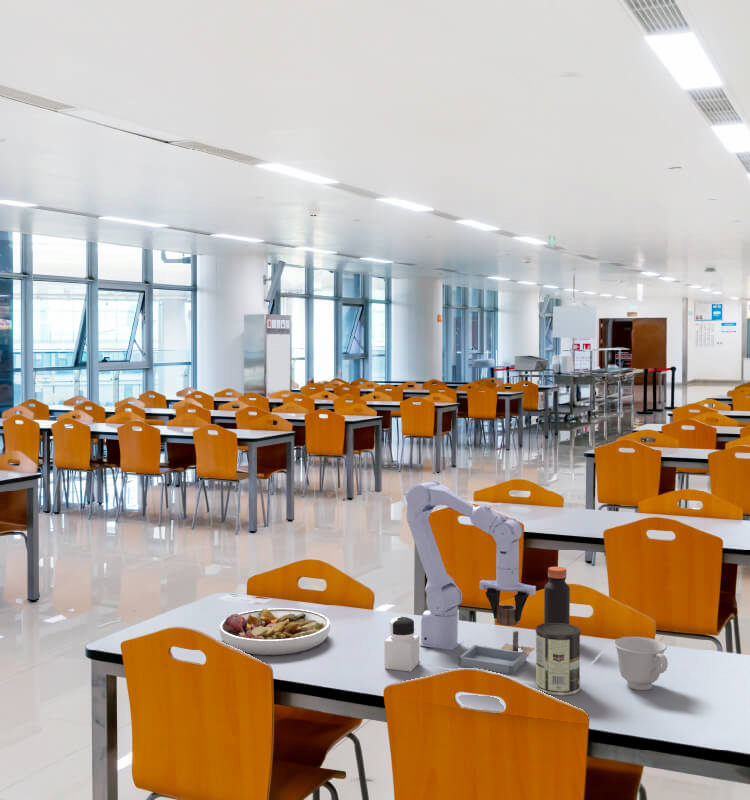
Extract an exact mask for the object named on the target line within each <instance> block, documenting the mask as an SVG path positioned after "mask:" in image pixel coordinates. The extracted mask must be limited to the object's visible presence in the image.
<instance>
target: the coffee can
mask: <svg viewBox="0 0 750 800" xmlns="http://www.w3.org/2000/svg"><path fill="white" fill-rule="evenodd" d="M535 636H536V637H535V643H536V644H535V646H536V647H535V648H536V649H535V653H536V654H535V656H536V657H535V665H536V666H535V667H536V668H535V672H536V673H535V687H536V689H537V690H538V689H539V690H541V691H543V692H546V693H548V694H547V695H550V694H551V695H552V696H571V695H574V694H578V693H579V691H580V690H581V687H580V683H581V682H580V681H581V680H580V669H581V668H580V666H581V665H580V663H581V662H580V657H581V655H580V654H581V653H580V647H581V644H580V643H581V642H580V641H581V640H580V637H581V629H580V628H579V627H578V626H576V625H573V624H571V623H570V624H566V623H544V622H543V623H540V624H538V625H536V626H535ZM539 690H538V691H539ZM541 691H540V692H541ZM543 692H542V693H543ZM546 693H545V694H546Z"/></svg>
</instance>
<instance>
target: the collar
mask: <svg viewBox="0 0 750 800" xmlns="http://www.w3.org/2000/svg"><path fill="white" fill-rule="evenodd" d="M515 614H516V606H515V605H514V604H499V606H497V619H496V623H497V624H498V625H501V626H508V627H511V626H517V624H518V623H519V622H517V621H516V620H515Z"/></svg>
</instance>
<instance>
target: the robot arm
mask: <svg viewBox="0 0 750 800" xmlns="http://www.w3.org/2000/svg"><path fill="white" fill-rule="evenodd" d="M405 500H406V503H407V504H406V520H407V524H408V527H409V530H410V532H411V535H412V538H413V541H414V544H415V547H416V550H417V553H418V557H419V559H420V561H421V564H422V567H423V571H424V573H425V576H426V579H427V582H426V586H425V588H424V591H425V595H426V603H425V604H426V606H427V608H428V609H426V610H424V611H423V613H422V616H421V621H420V628H421V629H420V630H421V631H420V632H421V633H420V641H421V642H420V643H419V647H420V646H421V647H427V648H432V649H433V648H438V649H445V650H450V651H451V650H454V649H455V648H456V647H458V646H459V645H461V644H462V643H463V642H464V641H463V640H460V639H458V635H459V633H458V631H459V629H458V627H459V617H458V615H459V605H461V603H462V601H463V593H462V591H461V590H460V588H459V587H458V586H457V584H456V582H455V580H454V578H453V577H451V576H450V575H449V574H448V573H447V570H446V568H445V565H444V562H443V559H442V556H441V553H440V550H439V548H438V544H437V542H436V539H435V536H434V533H433V530H432V527H431V524H430V521H429V517H430V515H431V514H432V511H433V509H434V508H435V507H436V506H442V505H443V506H446V507H448V508H449V509H450V508H451V509H452V510H454V511H456V512H458V513H460V514H462V515H464V516H466V517H467V518H469V519H470V522H471V525H473V526H475V527H476V528H478V529H479V530H481V531H483V532H484V533H487V534H488V535H490V536H492V538H493V540H494V542H495V543H496V555H495V556H496V560H495V561H496V564H495V567H496V570H495V571H496V575H495V576H496V578H495V579H496V580H486V579H482V580H480V581H479V590H486V592H485V596H486V598H487V600H488V602H489V604H490V607H491V611H492V614H493V619H496V620H497V606H499V605H500V595H501V592H508V593H516V594H514V596H513V597H514V604H515V605H514V606H516V614H515V620H516V621H517V622H518V623H519V622H520V621H521V619H522V613H523V610H524V607H525V604H526V602H527V600H528V598H529V596H534V595H536V594H537V586H536V585H531V584H525V583H521V582H519V578H520V576H519V575H520V573H519V571H520V565H519V564H520V549H519V548H520V544H519V543H520V538H522V535H523V527H522V525H521V523H520V522H519V521H518V520H517V519H515V518H511V517H510V518H507V516H506V515H505V514H502V515H501V514H499V513H498V512H496V511H494V510H492V509H491V508H492V507H491V506H490V505H488V504H487V505H483V504H482V505H477V506H476V505H474V504H473V503H471V502H470V501H468V500H467V499H465V498H464V497H462V496H461V495H460V494H457V493H456V492H454V491H452V490H451V489H450V488H449V487H447V486H446V485H445V484H442V483H440V482H439V481H436V480H430V481H428V482H424V483H419V484H417V483H416V484H414V485H412V486H411V487H410V488H409V490H408V492H407V493H406V496H405Z"/></svg>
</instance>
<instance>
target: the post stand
mask: <svg viewBox="0 0 750 800" xmlns="http://www.w3.org/2000/svg"><path fill="white" fill-rule="evenodd" d="M519 646H521V645H519V630H513V631H512V644H509V643H505V644H504V645H503V646H502V647H500V649H504V650H511V651H517V652H518V648H521V650H523V651H522V652H524V653H526V657H527V656H529V655H530V654H531V653H532V652H533V651H534V650H536V649H535V648H536V647H529V646H523V645H522V646H521V647H519Z"/></svg>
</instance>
